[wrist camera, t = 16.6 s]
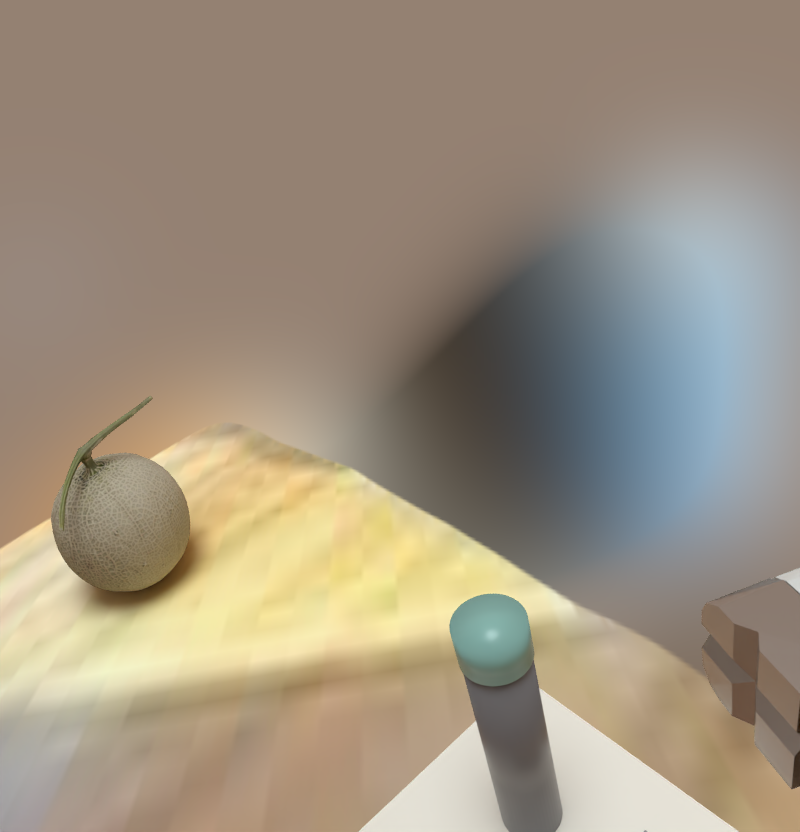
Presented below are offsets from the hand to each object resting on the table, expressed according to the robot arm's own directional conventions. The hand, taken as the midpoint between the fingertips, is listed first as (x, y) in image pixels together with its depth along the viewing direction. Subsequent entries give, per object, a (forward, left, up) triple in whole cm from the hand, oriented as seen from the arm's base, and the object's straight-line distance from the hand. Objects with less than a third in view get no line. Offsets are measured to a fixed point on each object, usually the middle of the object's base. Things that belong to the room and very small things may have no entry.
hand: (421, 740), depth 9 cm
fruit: (-50, +4, -30) cm, 59 cm away
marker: (-12, +11, -29) cm, 34 cm away
